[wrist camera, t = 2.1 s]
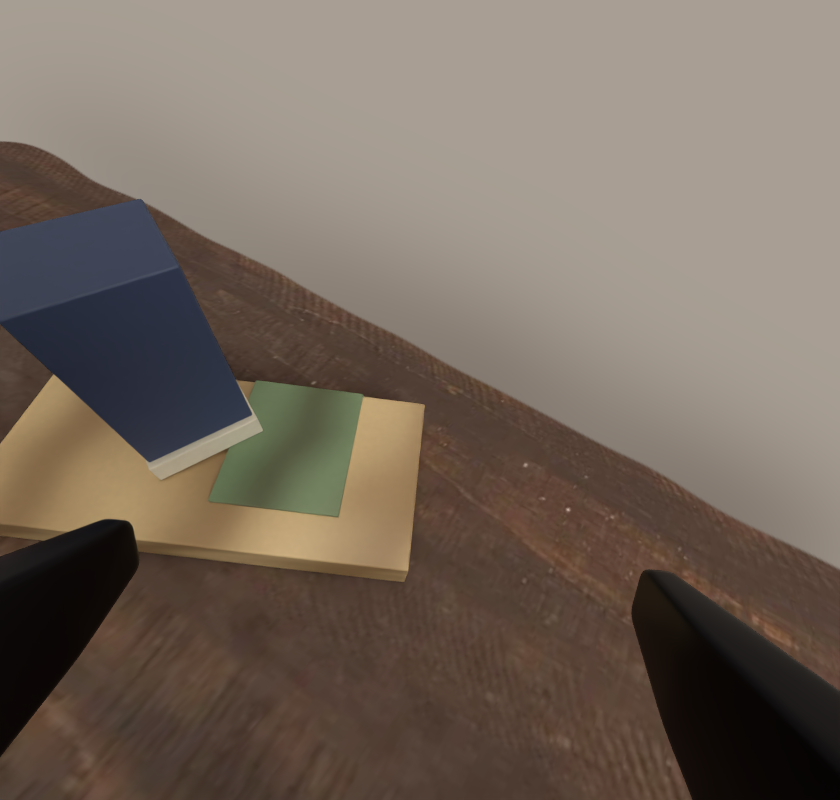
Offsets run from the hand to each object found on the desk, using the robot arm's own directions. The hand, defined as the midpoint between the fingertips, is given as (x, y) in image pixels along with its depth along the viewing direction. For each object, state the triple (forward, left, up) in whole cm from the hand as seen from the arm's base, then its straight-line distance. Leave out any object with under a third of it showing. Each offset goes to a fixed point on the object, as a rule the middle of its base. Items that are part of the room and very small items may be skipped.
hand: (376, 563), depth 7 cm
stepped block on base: (-6, +15, -11) cm, 19 cm away
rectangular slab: (-5, +10, -14) cm, 18 cm away
